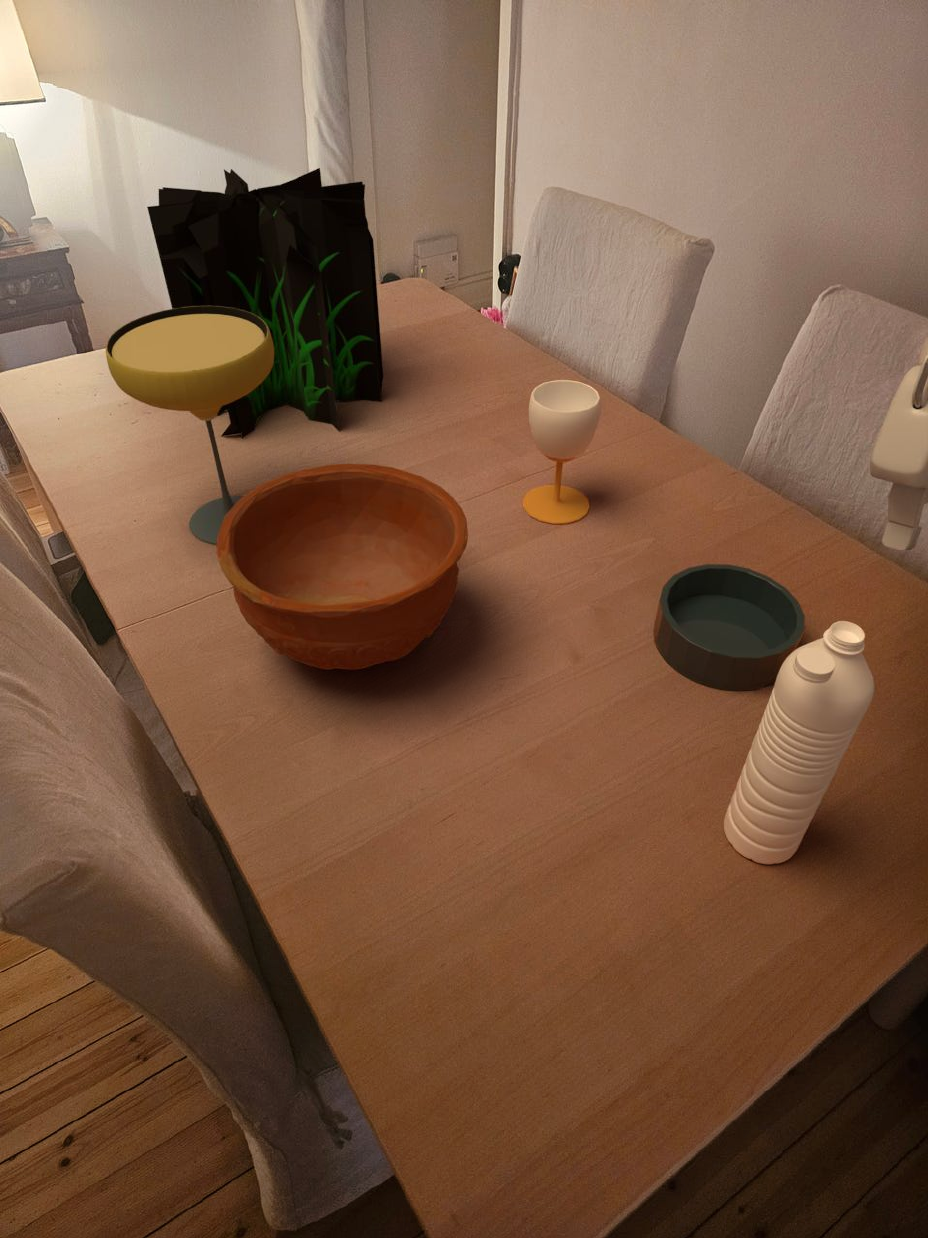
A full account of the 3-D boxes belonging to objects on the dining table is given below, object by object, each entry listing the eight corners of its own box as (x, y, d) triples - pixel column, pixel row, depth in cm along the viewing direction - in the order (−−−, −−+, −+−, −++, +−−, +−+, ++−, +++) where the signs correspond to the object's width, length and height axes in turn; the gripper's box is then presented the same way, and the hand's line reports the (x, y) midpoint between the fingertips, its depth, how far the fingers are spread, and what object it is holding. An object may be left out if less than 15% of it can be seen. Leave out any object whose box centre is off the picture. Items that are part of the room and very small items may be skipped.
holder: (812, 632, 92) (825, 599, 89) (758, 713, 84) (771, 679, 80) (690, 580, 99) (698, 547, 96) (629, 650, 90) (635, 616, 87)
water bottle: (748, 790, 77) (829, 586, 60) (811, 835, 73) (916, 632, 56) (693, 846, 72) (762, 643, 55) (757, 896, 69) (852, 696, 52)
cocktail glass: (263, 468, 117) (229, 292, 101) (325, 528, 107) (299, 344, 90) (140, 511, 110) (80, 329, 93) (193, 582, 99) (138, 390, 82)
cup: (552, 533, 106) (562, 421, 95) (508, 500, 111) (513, 391, 101) (603, 509, 110) (618, 399, 99) (559, 478, 115) (568, 371, 104)
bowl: (203, 626, 93) (171, 518, 83) (382, 539, 105) (373, 436, 95) (322, 760, 79) (301, 650, 69) (513, 643, 91) (519, 535, 81)
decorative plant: (202, 363, 142) (158, 172, 122) (374, 349, 146) (359, 161, 126) (192, 449, 121) (137, 235, 101) (393, 430, 125) (379, 221, 105)
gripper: (995, 339, 47) (910, 567, 52) (1085, 374, 61) (1011, 553, 65) (886, 325, 51) (817, 537, 56) (993, 361, 65) (929, 530, 69)
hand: (922, 546), depth 61 cm, fingers open, 8 cm apart
